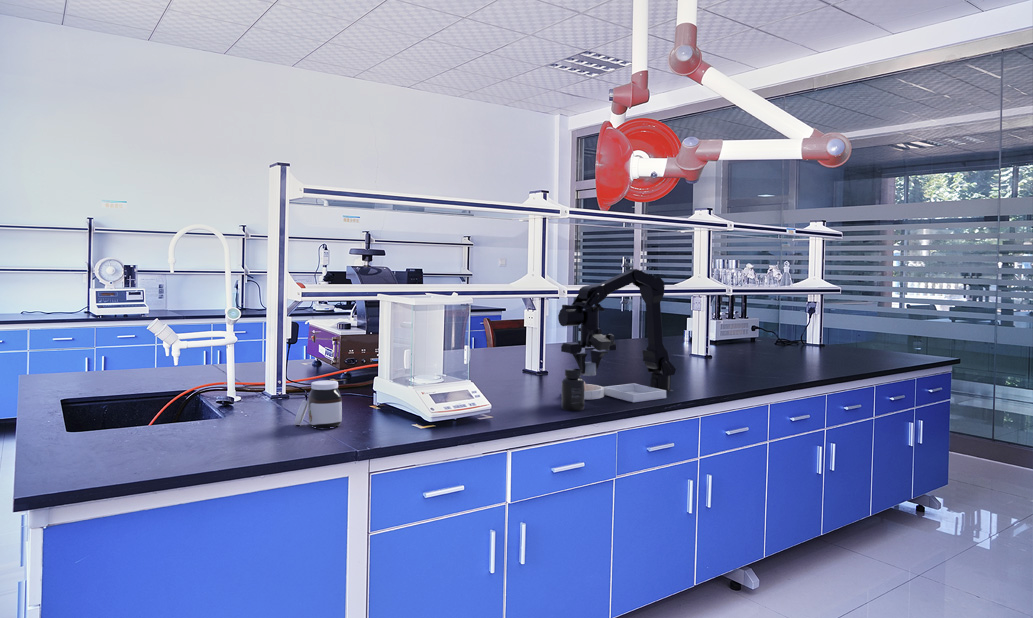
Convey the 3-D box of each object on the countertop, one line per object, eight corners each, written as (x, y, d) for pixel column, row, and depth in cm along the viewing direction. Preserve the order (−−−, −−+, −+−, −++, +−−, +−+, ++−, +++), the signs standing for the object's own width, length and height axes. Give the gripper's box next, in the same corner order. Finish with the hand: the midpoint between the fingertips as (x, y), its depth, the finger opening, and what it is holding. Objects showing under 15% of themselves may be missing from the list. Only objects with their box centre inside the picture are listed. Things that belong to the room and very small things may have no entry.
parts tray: (634, 392, 228) (634, 383, 228) (666, 399, 215) (666, 390, 215) (602, 395, 220) (602, 386, 220) (633, 404, 207) (633, 394, 207)
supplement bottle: (586, 407, 201) (587, 368, 201) (581, 412, 195) (581, 371, 194) (564, 405, 204) (565, 367, 203) (558, 410, 197) (559, 370, 197)
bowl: (586, 392, 227) (586, 382, 227) (611, 398, 216) (611, 388, 215) (554, 395, 220) (555, 386, 220) (579, 402, 209) (579, 392, 208)
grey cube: (590, 373, 218) (590, 361, 218) (598, 375, 214) (598, 363, 214) (579, 374, 216) (579, 362, 215) (587, 376, 212) (588, 364, 212)
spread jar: (345, 428, 173) (345, 384, 172) (301, 434, 166) (301, 388, 166) (331, 419, 183) (331, 377, 182) (289, 424, 177) (288, 380, 176)
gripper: (581, 328, 202) (581, 379, 203) (628, 326, 212) (627, 374, 213) (560, 325, 212) (559, 374, 213) (605, 323, 222) (605, 369, 223)
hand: (588, 373), depth 215 cm, fingers closed on grey cube, 4 cm apart
